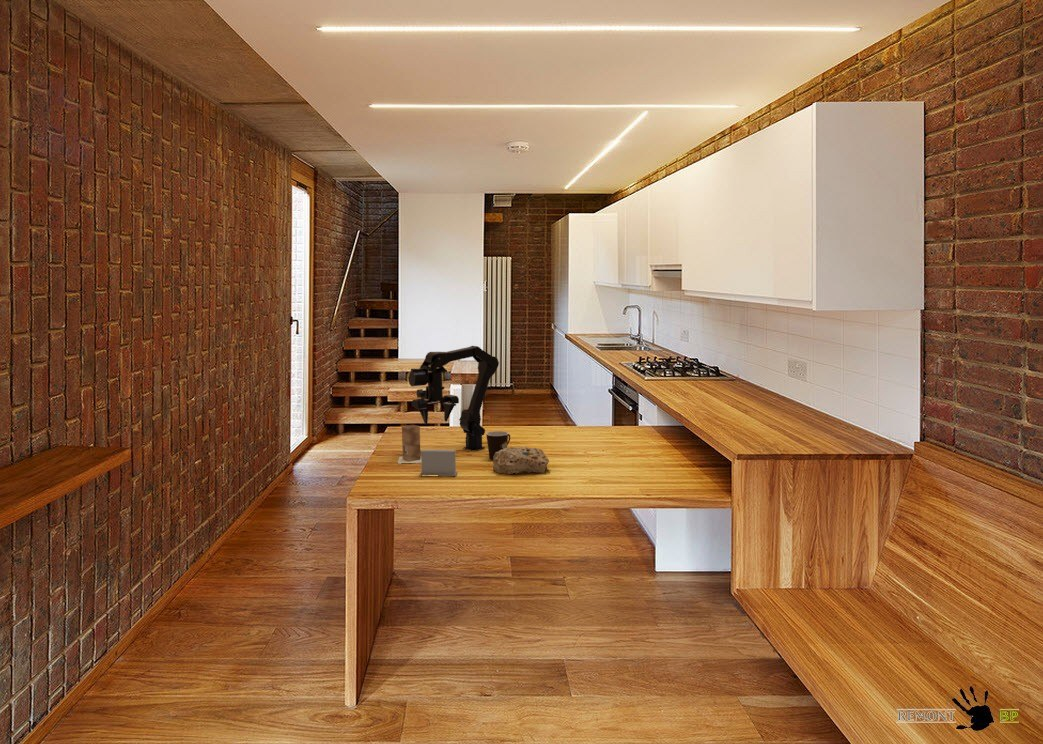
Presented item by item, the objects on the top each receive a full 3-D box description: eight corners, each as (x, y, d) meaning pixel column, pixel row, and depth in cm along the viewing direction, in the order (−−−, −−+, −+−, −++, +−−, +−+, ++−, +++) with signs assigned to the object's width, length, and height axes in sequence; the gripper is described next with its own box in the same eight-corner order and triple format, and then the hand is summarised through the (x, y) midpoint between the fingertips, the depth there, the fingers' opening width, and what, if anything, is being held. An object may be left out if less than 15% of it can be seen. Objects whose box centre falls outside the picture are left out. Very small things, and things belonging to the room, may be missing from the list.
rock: (542, 465, 287) (546, 442, 283) (550, 485, 274) (554, 460, 270) (489, 463, 282) (492, 439, 279) (494, 482, 269) (498, 457, 266)
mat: (424, 463, 288) (424, 462, 288) (398, 464, 287) (398, 463, 287) (425, 456, 298) (425, 455, 297) (399, 457, 296) (399, 456, 296)
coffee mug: (492, 462, 288) (492, 436, 287) (482, 457, 296) (482, 432, 294) (519, 458, 293) (519, 433, 292) (509, 453, 301) (509, 429, 300)
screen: (457, 473, 273) (457, 449, 272) (455, 476, 269) (455, 452, 267) (422, 473, 274) (421, 448, 273) (419, 476, 270) (419, 451, 268)
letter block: (414, 457, 296) (413, 424, 294) (420, 459, 292) (419, 426, 290) (402, 459, 292) (401, 426, 290) (408, 461, 288) (407, 428, 287)
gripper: (444, 379, 308) (445, 416, 310) (404, 383, 297) (405, 422, 299) (459, 382, 300) (459, 421, 302) (418, 387, 288) (419, 427, 290)
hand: (435, 422), depth 298 cm, fingers open, 9 cm apart
